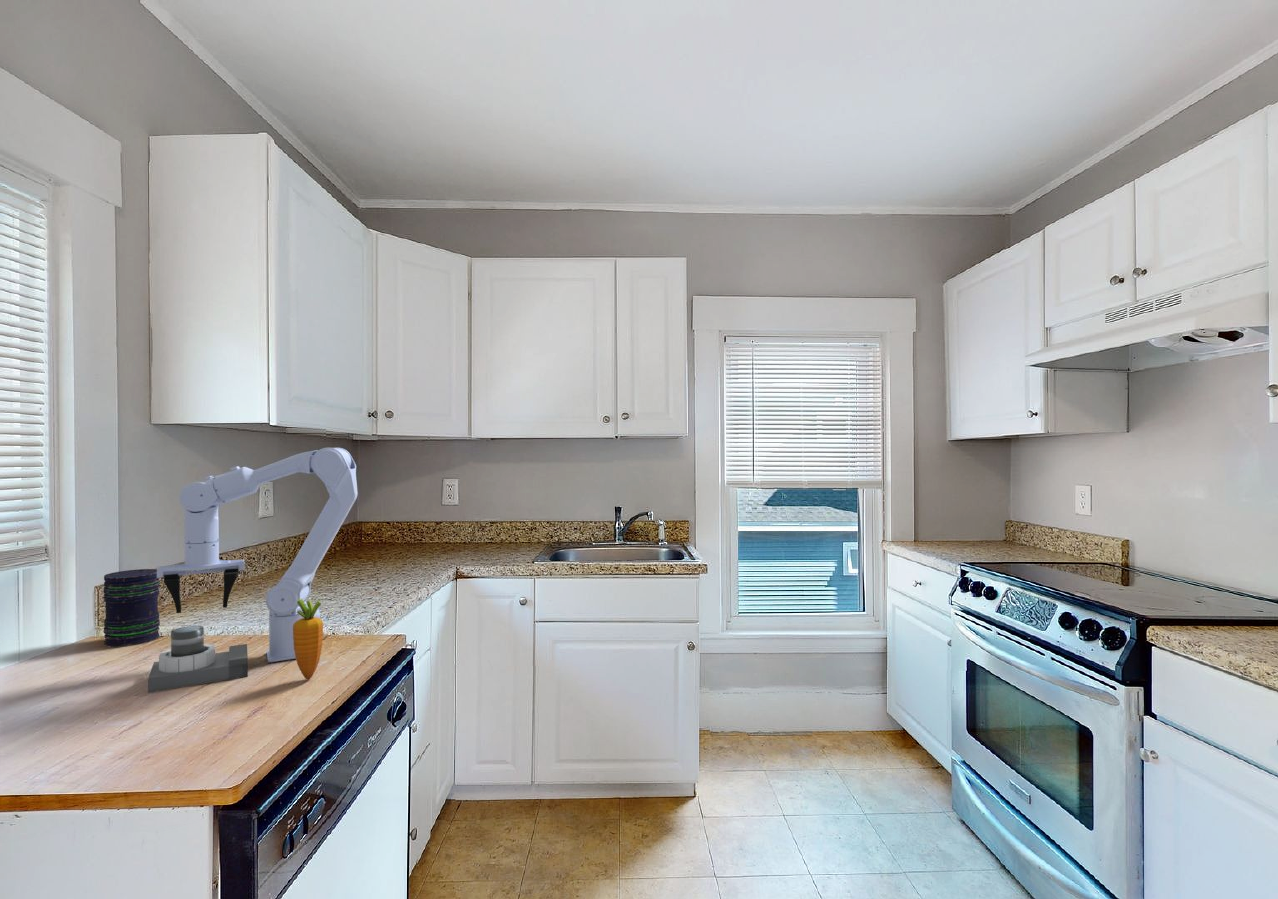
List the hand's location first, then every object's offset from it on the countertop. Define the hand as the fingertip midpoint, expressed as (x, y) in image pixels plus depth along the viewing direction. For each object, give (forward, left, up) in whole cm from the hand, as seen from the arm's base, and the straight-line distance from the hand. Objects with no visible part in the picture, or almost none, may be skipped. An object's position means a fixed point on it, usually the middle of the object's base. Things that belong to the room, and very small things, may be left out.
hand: (202, 609), depth 130 cm
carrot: (-17, +23, -11) cm, 30 cm away
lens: (+2, +10, -8) cm, 13 cm away
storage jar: (+14, -25, -11) cm, 31 cm away
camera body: (0, +10, -10) cm, 14 cm away
